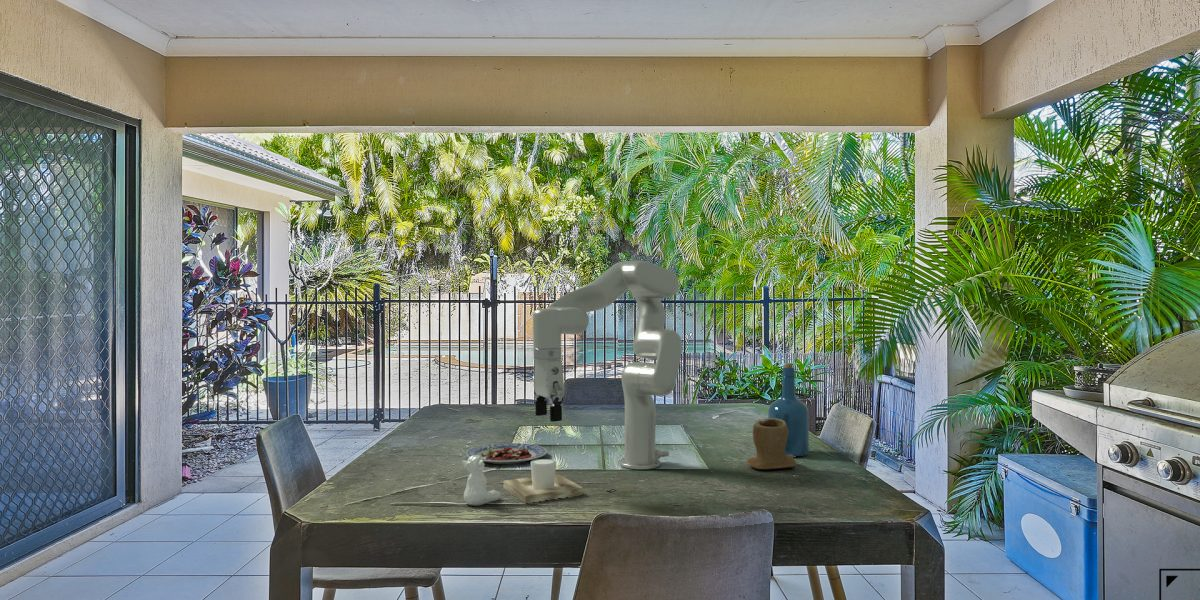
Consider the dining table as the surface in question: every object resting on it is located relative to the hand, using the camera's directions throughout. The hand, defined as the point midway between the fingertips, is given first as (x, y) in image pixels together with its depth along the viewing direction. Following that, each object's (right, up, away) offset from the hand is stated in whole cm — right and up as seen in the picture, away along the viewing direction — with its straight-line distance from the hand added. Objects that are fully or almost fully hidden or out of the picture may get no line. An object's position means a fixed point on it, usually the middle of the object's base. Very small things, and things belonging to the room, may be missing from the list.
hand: (548, 418), depth 183 cm
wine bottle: (+76, -19, +43) cm, 90 cm away
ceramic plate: (-16, -19, +36) cm, 44 cm away
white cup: (-1, -18, -3) cm, 19 cm away
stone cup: (+66, -20, +23) cm, 73 cm away
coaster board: (-1, -19, -3) cm, 19 cm away
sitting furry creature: (-17, -19, -12) cm, 28 cm away
